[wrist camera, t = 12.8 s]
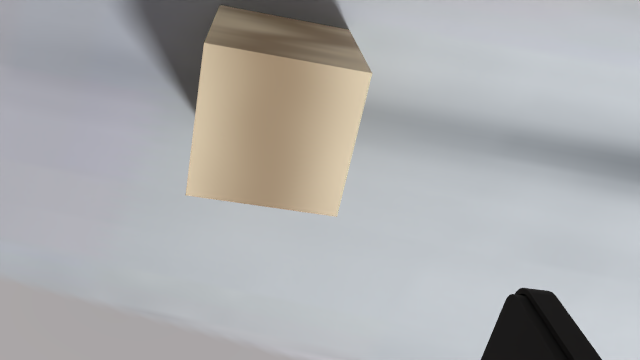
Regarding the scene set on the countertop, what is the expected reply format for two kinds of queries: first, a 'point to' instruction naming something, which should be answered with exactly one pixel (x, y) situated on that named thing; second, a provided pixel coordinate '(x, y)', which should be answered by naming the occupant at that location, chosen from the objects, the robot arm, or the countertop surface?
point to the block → (276, 112)
